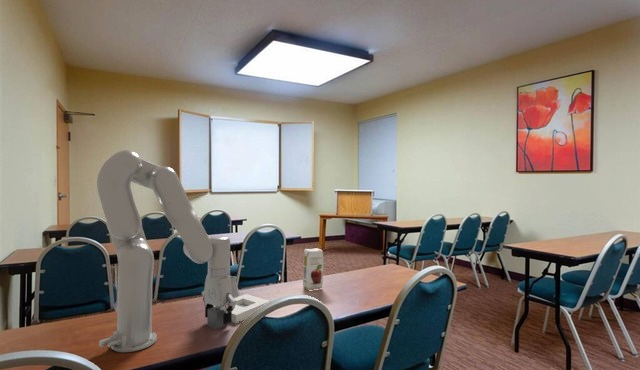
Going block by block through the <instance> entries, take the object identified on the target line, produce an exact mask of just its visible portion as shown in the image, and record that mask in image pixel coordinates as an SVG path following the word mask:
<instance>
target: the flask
mask: <svg viewBox="0 0 640 370" xmlns="http://www.w3.org/2000/svg"><path fill="white" fill-rule="evenodd" d="M230 278H231V286H232V297H233V298H236V297H239V296H241V294H240V291H239V288H238V285H237V279H238V277H237V276H235V275H234V276H232V275H230Z"/></svg>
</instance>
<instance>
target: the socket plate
mask: <svg viewBox="0 0 640 370" xmlns="http://www.w3.org/2000/svg"><path fill="white" fill-rule="evenodd" d="M234 299H235V300H236V305H235V308H234V309H233V311H232V321H231V322H232V323H235V324H238V323H240V322H243V321H245V320H247V319H248V318H247V317H248V316H249V315H250V314H251V313H253V312H254V311H255V310H257V309H258V308H260V307H261V306H263V305H264V304H266V303H268V302H270V303H271V300H268V299H265V298H262V297H259V296H254V295H251V294H248V293H245V294H242V295H240V296H239V297H236V298H234ZM214 307H215V306H214ZM226 307H227V308H228V305H227V306H226ZM246 318H247V319H246ZM239 321H240V322H239ZM231 322H230V323H231Z"/></svg>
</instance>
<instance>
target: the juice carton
mask: <svg viewBox="0 0 640 370" xmlns="http://www.w3.org/2000/svg"><path fill="white" fill-rule="evenodd" d="M302 262H303V265H302V285H303V286H302V287H303V289H305V288H306V289H307V291H308V290H314V289H320V288H322V289H323V283H324V282H323V281H324V280H323V279H324V278H323V277H324V250H323V249H320V248H317V247H315V248H304V251H303V261H302ZM306 289H305V290H306Z"/></svg>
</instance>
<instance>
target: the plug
mask: <svg viewBox="0 0 640 370" xmlns="http://www.w3.org/2000/svg"><path fill="white" fill-rule="evenodd" d="M223 313H225V312H224V309H223V307H217V306H215V307H212V308H209V309H208V317H207V322H206V323H207V324H206V326H207V327H208V328H211V329H214V330H219V329H221V328H224V327H226V326H228V325H229V323H228V324H225V325H224V324H223Z"/></svg>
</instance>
